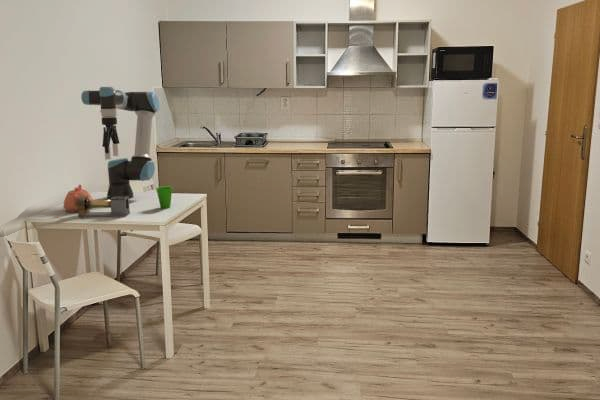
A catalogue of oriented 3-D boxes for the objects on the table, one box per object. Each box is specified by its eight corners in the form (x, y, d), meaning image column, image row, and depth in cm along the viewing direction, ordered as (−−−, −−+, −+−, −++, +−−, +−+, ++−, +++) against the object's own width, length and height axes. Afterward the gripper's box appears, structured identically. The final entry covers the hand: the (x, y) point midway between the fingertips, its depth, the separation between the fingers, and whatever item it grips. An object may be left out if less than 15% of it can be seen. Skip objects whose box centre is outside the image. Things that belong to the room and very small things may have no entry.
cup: (176, 206, 304) (175, 186, 302) (168, 209, 296) (167, 189, 294) (162, 205, 307) (161, 186, 305) (153, 208, 298) (152, 189, 296)
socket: (84, 213, 288) (82, 195, 286) (89, 213, 288) (88, 195, 286) (78, 217, 280) (76, 198, 278) (84, 217, 280) (82, 198, 278)
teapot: (67, 206, 306) (65, 184, 304) (96, 204, 310) (94, 183, 308) (61, 215, 286) (58, 191, 283) (91, 213, 289) (89, 190, 287)
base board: (84, 213, 288) (84, 212, 288) (130, 213, 289) (130, 211, 289) (78, 217, 280) (78, 215, 280) (125, 216, 281) (125, 215, 281)
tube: (84, 207, 286) (83, 198, 285) (116, 207, 286) (115, 198, 285) (80, 209, 281) (79, 200, 280) (113, 209, 281) (112, 200, 280)
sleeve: (115, 213, 288) (114, 196, 286) (129, 213, 288) (128, 196, 286) (111, 216, 281) (110, 198, 279) (126, 216, 282) (125, 198, 280)
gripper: (109, 115, 296) (112, 154, 300) (93, 118, 272) (97, 160, 276) (123, 115, 296) (125, 154, 301) (108, 118, 272) (112, 160, 276)
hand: (112, 157), depth 288 cm, fingers open, 13 cm apart
